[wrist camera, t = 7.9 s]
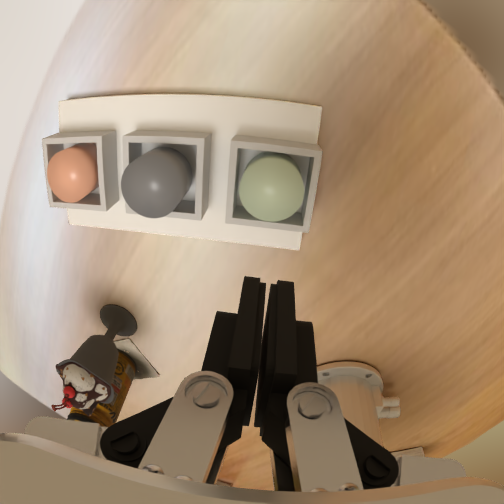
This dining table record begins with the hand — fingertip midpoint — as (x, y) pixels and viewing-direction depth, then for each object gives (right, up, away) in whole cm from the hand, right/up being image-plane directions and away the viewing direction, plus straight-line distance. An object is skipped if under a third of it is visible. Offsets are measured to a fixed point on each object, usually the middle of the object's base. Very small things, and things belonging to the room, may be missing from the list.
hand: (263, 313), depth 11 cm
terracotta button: (-15, +9, +13) cm, 22 cm away
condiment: (-18, -13, +29) cm, 36 cm away
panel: (-7, +9, +15) cm, 19 cm away
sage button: (+1, +8, +13) cm, 15 cm away
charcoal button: (-7, +8, +12) cm, 16 cm away
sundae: (-16, -6, +24) cm, 30 cm away
